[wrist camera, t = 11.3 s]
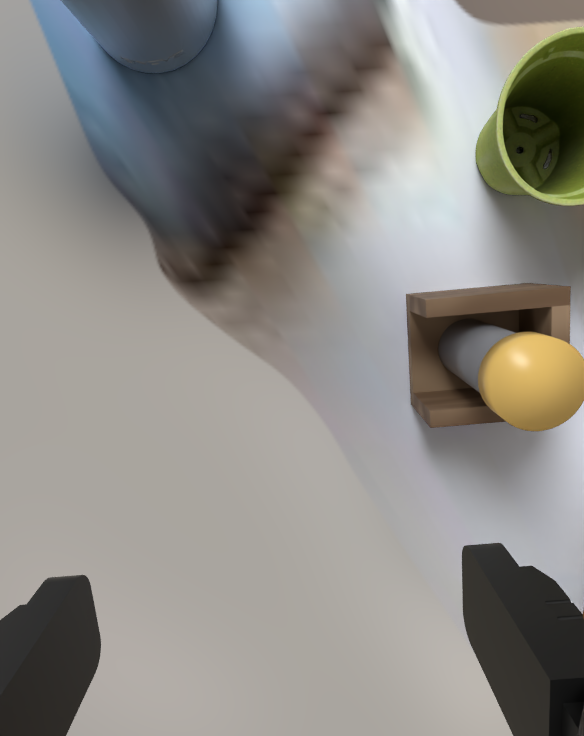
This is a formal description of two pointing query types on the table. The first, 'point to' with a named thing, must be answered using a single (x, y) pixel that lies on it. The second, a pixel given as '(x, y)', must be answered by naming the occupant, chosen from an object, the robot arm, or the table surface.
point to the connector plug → (516, 372)
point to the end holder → (487, 304)
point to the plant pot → (540, 125)
